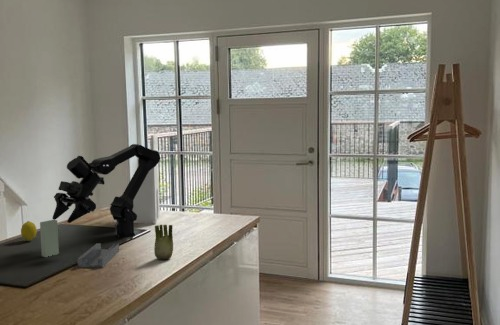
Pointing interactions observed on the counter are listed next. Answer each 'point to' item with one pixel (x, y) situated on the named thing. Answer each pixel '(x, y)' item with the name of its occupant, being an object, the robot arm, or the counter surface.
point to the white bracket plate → (148, 193)
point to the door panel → (49, 238)
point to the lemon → (28, 230)
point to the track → (97, 256)
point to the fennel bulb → (163, 242)
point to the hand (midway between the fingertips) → (60, 220)
